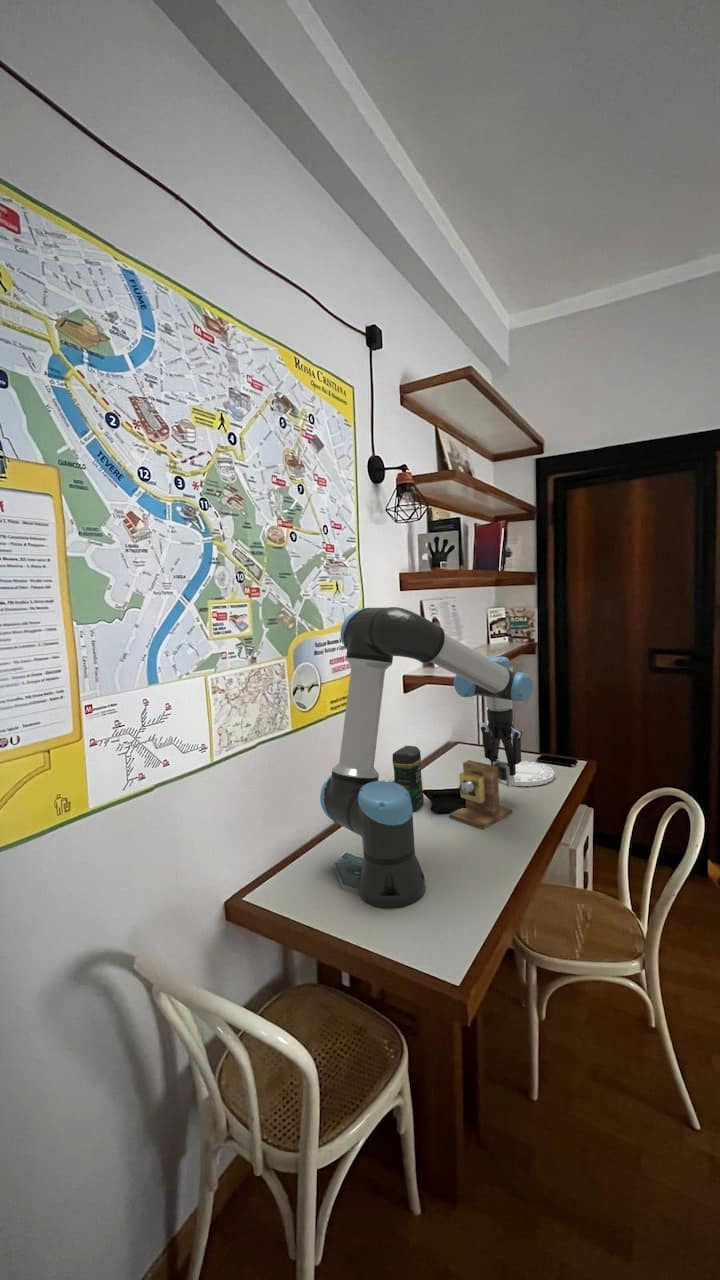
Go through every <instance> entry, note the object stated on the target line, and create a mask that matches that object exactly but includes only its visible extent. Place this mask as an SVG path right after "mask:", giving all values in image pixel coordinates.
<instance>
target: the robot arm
mask: <svg viewBox="0 0 720 1280" xmlns="http://www.w3.org/2000/svg"><path fill="white" fill-rule="evenodd" d="M340 640H341V643H342V644H343V647H344V649H346V655H345V659H346V661H347V663H349V666H350V673H349V682H348V688H347V696H346V697H347V698H346V699H347V700H346V706H345V714H344V720H343V721H344V722H343V729H342V737H341V745H340V746H341V747H340V752H339V753H340V754H339V762H338V763H337V764H336V765H335V766H333V767H332V769H331V775H330V776H329V777H327V780H326V781H324V783H323V784H322V787H321V789H320V793H319V794H320V795H319V797H320V798H319V799H320V805H321V809H322V811H323V812H324V814H325V815H326V816H327V818H329V819H330V820H332V822H333V823H335V824H336V825H339V826H341V827H344V828H345V829H348V830H349V831H350V832H353V833H355V834H356V835H358V836H360V837H361V842H362V849H363V850H362V852H363V859H362V860H363V861H362V865H361V866H362V867H361V871H360V875H359V878H358V880H357V881H358V884H357V885H358V895H359V896H360V898H361V899H362V900H363V901H364V902H366V903H367V904H369V905H371V906H374V907H379V908H383V909H384V908H389V909H390V908H391V909H392V908H400V907H404V906H409V905H411V904H413V903H416V902H417V901H418V900H420V898H422V896H423V895H424V894H425V892H426V889H427V888H426V878H425V875H424V873H423V870H422V867H421V865H420V863H419V860H418V858H417V856H416V849H415V847H416V846H415V833H414V818H413V813H414V811H412V810H413V808H412V804H411V799H410V795H409V792H408V791H407V790H406V789H405V788H404V787H403V786H401V785H399V784H397V783H395V781H393V782H392V781H388V782H387V781H385V780H379V778H380V775H379V774H380V773H379V772H378V771H377V769H376V768H375V761H376V760H375V759H376V749H377V743H378V741H377V740H378V733H379V724H380V716H381V709H382V699H383V693H384V692H383V691H384V683H385V682H384V681H385V674H386V670H387V669H389V668H390V667H391V666H392V664H393V661H394V660H393V659H394V657H403V658H409V659H413V660H417V661H418V662H419V663H420V662H421V663H424V664H428V663H432V664H433V665H436V666H438V667H440V668H442V669H444V670H446V671H448V672H449V673H452V674H454V675H455V676H454V678H453V687H454V690H455V691H456V694H457V695H458V696H460V697H461V698H472V697H474V696H478V697H479V696H480V697H485V702H486V704H485V705H486V717H487V721H488V724H486V725H484V726H481V727H480V731H481V734H482V741H483V751H484V758H485V759H488V760H489V761H490V765H492V766H494V765H495V764H497V763H500V762H501V760H500V757H499V751H500V750H499V749H500V743H502V744H503V747H504V751H505V757H506V761H507V763H508V764H507V765H506V776H507V784H506V786H507V787H508V788H509V787H513V786H512V785H514V775H515V774H516V767H515V765H516V764H518V763H520V762H521V761H522V744H521V743H522V742H521V741H522V736H523V732H522V730H517V729H515V727H514V725H513V721H514V713H513V712H514V711H513V710H514V709H513V708H512V707H513V702H526V701H528V700H529V699H530V698H531V697H532V695H533V691H534V682H533V678H532V677H531V676H530V674H528V673H526V672H525V673H523V672H521V671H518V672H516V671H512V670H511V667H510V660H509V658H508V657H506V656H491V657H486V656H485V655H483V654H481V653H479V652H478V651H476V650H474V649H472V648H470V647H469V646H466V645H465V644H464V643H462V642H460V641H458V640H456V639H454V638H453V637H451V636H449V635H447V634H446V632H445V630H444V628H443V627H441V626H440V625H438V624H437V623H434V622H433V621H431V620H429V619H427V618H426V617H423V616H422V615H420V614H418V613H416V612H413V611H411V610H409V609H406V608H403V607H397V606H390V607H389V606H388V607H364V608H359V609H355V610H354V611H352V612H351V613H350V614H348V615H347V616H346V617H345V618H344V620H343V623H342V625H341V627H340ZM500 781H501V779H498V783H501V782H500Z"/></svg>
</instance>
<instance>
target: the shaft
mask: <svg viewBox="0 0 720 1280" xmlns="http://www.w3.org/2000/svg"><path fill="white" fill-rule="evenodd" d="M507 764H508V762H505V761H500V763H497V764H495V765H494V766H497V771H498V779H501V780H505V781H506V780H507V776H506V765H507ZM458 790H459V792H461V793H462V794H463V795H466V794H468V793H470V792H472V791H474V790H475V783H473V782H469V781H467V782H465V783H463V784H461V785H460V784H459V786H458Z"/></svg>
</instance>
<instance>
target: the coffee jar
mask: <svg viewBox="0 0 720 1280" xmlns="http://www.w3.org/2000/svg"><path fill="white" fill-rule="evenodd" d="M421 756H422V755H421V750H420V749H419V748H418V747H417V746H415V745H404V746H402V747H401V748H399V749H398V750H396V751H395V752H393V753H392V766H393V767H392V768H393V775H394V777H393V778H394V783H397V784H399V785H401V786H403V787H404V788H405V789H406V790H407V791H408V792H409V795H410V799H411V804H412V808H413V810H412V812H414V811H417V810H418V809H420V808H421V807H422V806H423V804H424V803H425V802H424V801H425V798H424V790H423V788H424V787H423V780H422V778H423V777H422V757H421Z"/></svg>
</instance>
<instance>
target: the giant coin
mask: <svg viewBox="0 0 720 1280" xmlns="http://www.w3.org/2000/svg"><path fill="white" fill-rule="evenodd" d="M515 767H516V774H515V775H514V785H512V786H511V787H516V786H518V787H520V786H521V787H524V786H532V787H533V786H540V785H546V784H549V783H550V782H553V780H554V779H555V777H556V776H555V772H554V770H553V768H552V767H550V766H548V765H547V764H545V763H536V762H535V761H530V762H529V761H527V760H525V761H524V760H523V761H522V760H521V762H520V763H518V764H516V765H515ZM548 782H549V783H548ZM499 783H500V784H503V785H504V784H505V785H507V780H506V781H505V780H501V781H500V782H499Z"/></svg>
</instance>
